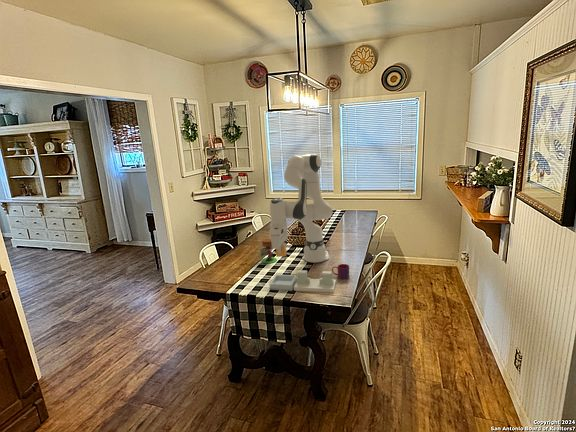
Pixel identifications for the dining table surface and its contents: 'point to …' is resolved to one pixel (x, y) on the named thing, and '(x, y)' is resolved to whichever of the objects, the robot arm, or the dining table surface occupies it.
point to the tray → (283, 282)
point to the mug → (342, 271)
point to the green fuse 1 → (302, 276)
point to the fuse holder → (315, 286)
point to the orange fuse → (282, 250)
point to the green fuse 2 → (327, 277)
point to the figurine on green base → (267, 252)
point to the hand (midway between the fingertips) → (281, 251)
